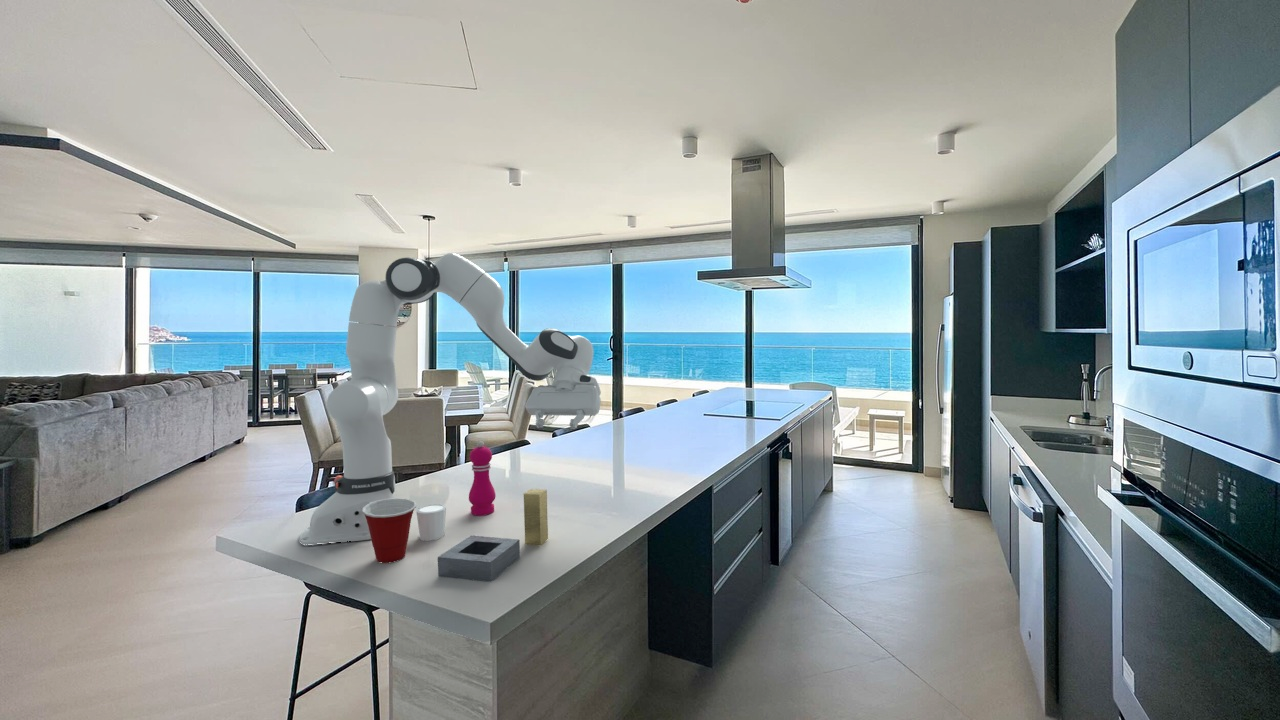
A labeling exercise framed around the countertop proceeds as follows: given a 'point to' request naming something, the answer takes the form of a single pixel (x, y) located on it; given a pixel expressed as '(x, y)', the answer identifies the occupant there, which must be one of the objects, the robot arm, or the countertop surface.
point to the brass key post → (535, 516)
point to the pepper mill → (481, 482)
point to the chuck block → (479, 558)
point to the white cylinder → (431, 521)
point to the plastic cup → (389, 527)
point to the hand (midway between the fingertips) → (555, 426)
